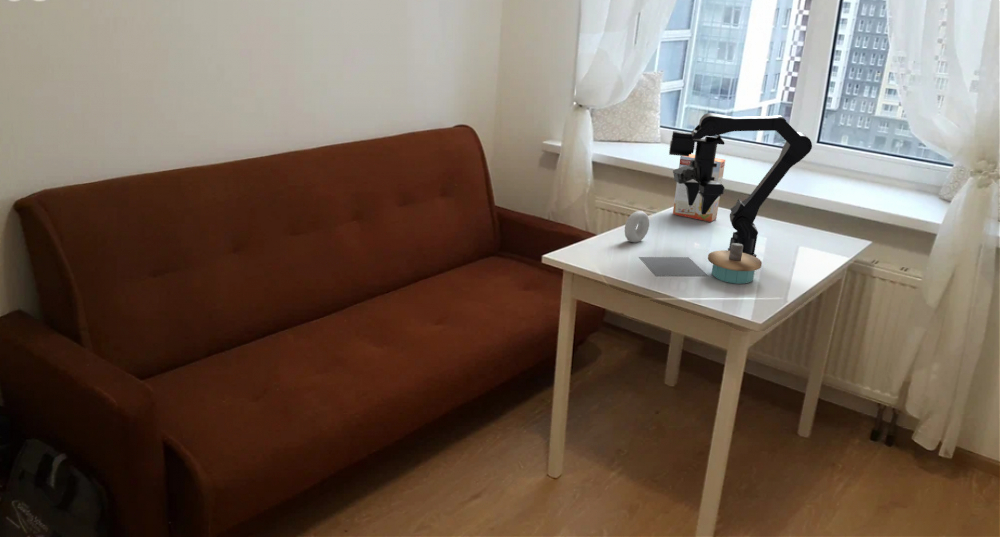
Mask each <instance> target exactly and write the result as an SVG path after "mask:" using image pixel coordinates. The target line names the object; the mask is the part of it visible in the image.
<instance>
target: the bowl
mask: <svg viewBox="0 0 1000 537" xmlns="http://www.w3.org/2000/svg"><path fill="white" fill-rule="evenodd" d="M755 271H756V270H754V271H736V270H730V269H725V268H722V267H719V266H716V265H714V264H712V270H711V275H712V276H713V277H714V278H716V279H717V280H719V281H722V282H725V283H727V284H728V283H729V284H735V285H737V284H738V285H741V284H749V283H751V282H753V281H754V277H755Z"/></svg>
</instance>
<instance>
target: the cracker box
mask: <svg viewBox="0 0 1000 537" xmlns="http://www.w3.org/2000/svg"><path fill="white" fill-rule="evenodd" d="M694 158H695V154H693V153H691V154H689V156H680V159H679V166H678V168H681V167H684V166H688V165H690V161H692V159H694ZM715 163H717V167H714V168H713V174H712V176H713V177H715V179H714V181H717V182H719V183H721V184H722V185H723V178H724V172H725V166H726V164H725V163H726V159H723V158H718V157H717V158H716V157H715ZM675 187H676V188H675V194H674V201H673V208H672V215H674V214H675V216H680V217H686V218H688V219H689V218H690V219H694V220H700V221H705V222H709V223H711V222H713V221H715V220H717V218H718V212H719V205H720V200H721V199H720V198H721V196H719V197H718V198H717V199H716V200H715V202H714V203H713V204H712V206H711V207H710V208H709V210H708V211H707V213H706V214H701V204H702V197H701V195H700V194H699V193H698V194H697V197H696V199H695V201H694V203H693V205H692V206H689V204H688V197H687V190H686V186H685V185H684V184H679V183H678V182H677V181H676V186H675ZM699 192H700V191H699Z"/></svg>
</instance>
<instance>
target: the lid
mask: <svg viewBox="0 0 1000 537" xmlns="http://www.w3.org/2000/svg"><path fill="white" fill-rule="evenodd" d="M742 252H743V245H742V244H738V243H732V244H731V248H730V251H728V249H727V250H724V249H723V250H714V251H711V252H710V253H708V255H707V260H708V262H709V263H711V264H712V265H713V264H714V265H716V266H719V267H722V268H725V269H730V270H736V271H754V270H755V271H757V270H758V271H759V270H761V268H762V265H763V262H762V260H761V259H759V257H757V256H756V257H755V256H752V255H749V254H746V253H742Z"/></svg>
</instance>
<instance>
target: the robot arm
mask: <svg viewBox="0 0 1000 537" xmlns="http://www.w3.org/2000/svg"><path fill="white" fill-rule="evenodd" d="M761 131H762V132H763V131H765V132H766V131H767V132H768V131H771V132H773V131H774V132H777V133H778V135H780V137H782V138H783V140H784V141H785V143H784V145H783V146H782V149H781V152H780V154H779V157H778V158H777V160H776V161H775V162H774V164H773V165H772V166H771V167H770V169H769V170H768V172H766V174H765V175H764V176H763V178H762V179H761V180H760V181H759V183H758V184H757V186H756V187H755V188H754V189H753V191H752V192H751V193H750V195H749V196H748V197H747V198H745V199H744V200H743V201H742V199H740V198H738V200H737V201H736V203H735V204H734V206H733V207H731V208H730V213H729V219H730V223H731V226H732V228H733V229H734V230H735V231H733V233H732V237H730V240H729V245H728V246H729V247H728V248H727V251H730V248H731V244H732V243H738V244H742V245H743V252H742V253H746V254H749V255H752V256H755V257H757V255H758V254H756V253H755V251H756V245H757V241H758V234H759V231H758V228H757V227H756V224H755V222H754V221H755V220H756V218H757V216H758V213H759V211H760V208H761V206H762V205H763V204H764V202H765V201H766V199H768V197H769V196H770V194H772V192H773V191H774V190H775V188H776V187H777V186H778V185H779V183H780V182H781V181H782V179H783V178H784V177H785V175H786V174H787V173H788V172H789V170H790V169H791V168H792V167H794V166H796V164H798V163H800V162H801V161H803V159H804V158H805V157H806V156H807V155H808V154H809V153H810V152H811V151H812V149H813V144H812V143H813V142H812V140H811V139H810V138H809V137H808V136H807V135H806V134H804V133H802V132H799V131H796V130H795V129H794V128H793V127H792V125H790V124H789V123H788V121H787V120H786V118H785V117H784V116H783V115H778V114H776V115H769V116H768V115H765V116H764V115H761V116H759V115H758V116H757V115H756V116H755V115H754V116H753V115H752V116H730V115H726V114H721V113H713V112H708V113H705V114H704V115H702V116H701V117H700V119H699V123H698V124H697V126H696V127H695V128H694V129H693V130H692V131H691V132H681V131H676V130H673V131H672V135H671V140H670V141H669V142H670V143H669V150H668V152H669V153H668V155H670V156H689V154H694V151H695V154H694V155H695V158H694V159H692V161H690V165H688V166H684V167H681V168H679V167H678V168H676V169H675V168H674V170H673V169H672V174H673V177H674V179H673V180H674V181H675V182H676V183H677V182H678V183H679V184H684V185H685V186H686V190H687V197H688V204H689V206H692V205H693V203H694V201H695V199H696V197H697V194H698V193H699V194H700V195H701V197H702V204H701V214H706V213H707V211H708V210H709V208H710V207H711V206H712V204H713V203H714V202H715V200H716V199H717V198H718V197H719V196H720V197H721V195H724V192H725V186H724V184H723V183H722V184H721V183H719V182H717V181H714V179H715V177H713V176H712V174H713V168H714V167H717V163H715V158H716V154H717V147H718V145H722V146H723V145H725V144H726V143H725V140H724V139H723V138H722V137H721V135H724V134H728V133H731V132H761ZM695 143H696V146H695ZM699 191H700V192H699Z"/></svg>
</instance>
